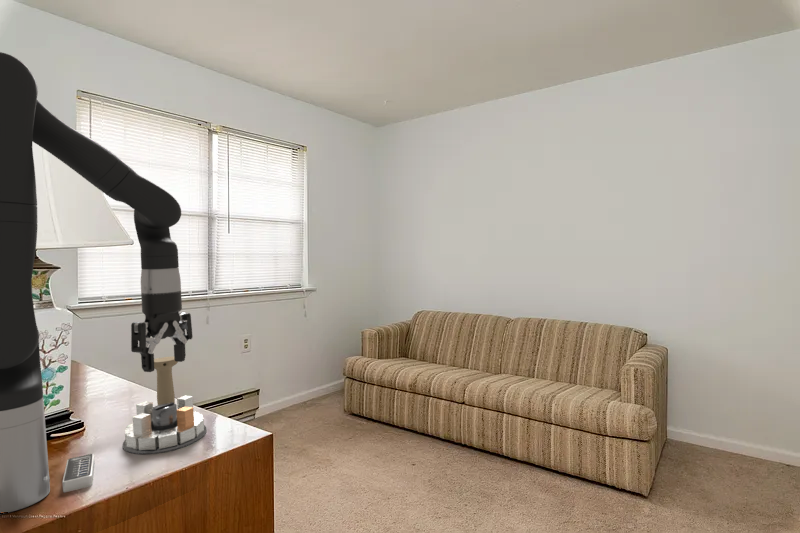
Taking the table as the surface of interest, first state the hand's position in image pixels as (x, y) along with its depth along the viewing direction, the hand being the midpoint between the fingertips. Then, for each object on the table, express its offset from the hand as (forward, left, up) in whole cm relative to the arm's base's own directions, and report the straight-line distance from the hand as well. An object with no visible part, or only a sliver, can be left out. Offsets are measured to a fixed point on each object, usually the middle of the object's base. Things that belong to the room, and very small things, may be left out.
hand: (165, 366), depth 100 cm
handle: (+11, +17, -18) cm, 27 cm away
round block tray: (+3, +6, -18) cm, 19 cm away
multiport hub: (-16, +5, -19) cm, 25 cm away
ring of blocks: (+3, +6, -18) cm, 19 cm away
